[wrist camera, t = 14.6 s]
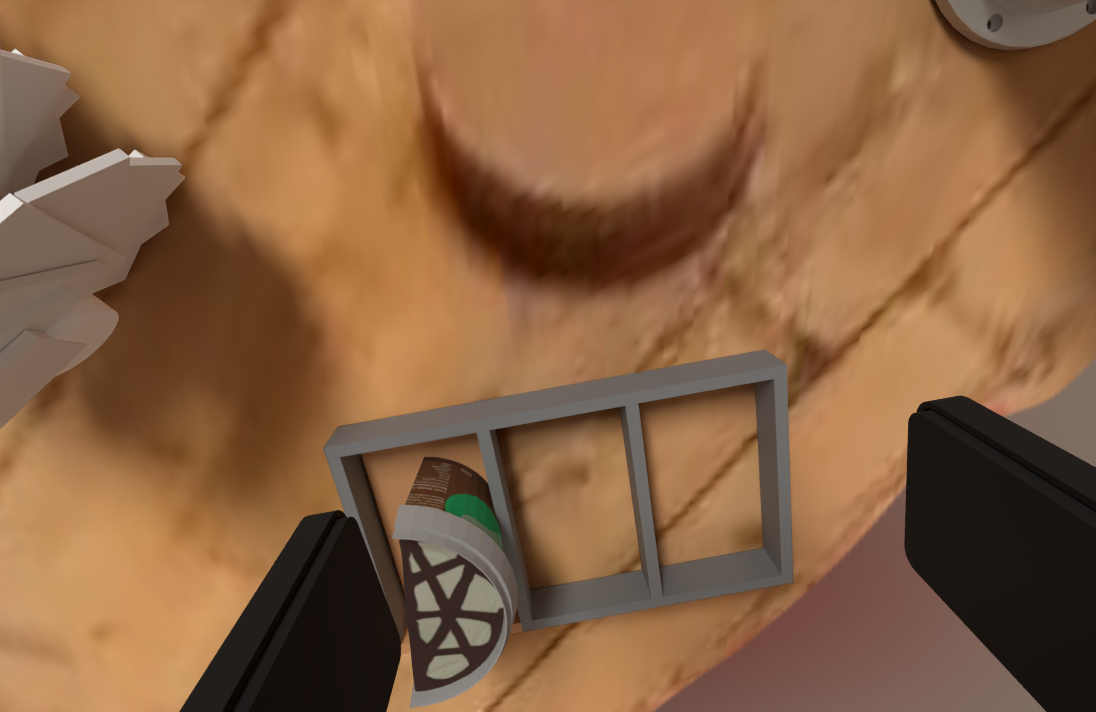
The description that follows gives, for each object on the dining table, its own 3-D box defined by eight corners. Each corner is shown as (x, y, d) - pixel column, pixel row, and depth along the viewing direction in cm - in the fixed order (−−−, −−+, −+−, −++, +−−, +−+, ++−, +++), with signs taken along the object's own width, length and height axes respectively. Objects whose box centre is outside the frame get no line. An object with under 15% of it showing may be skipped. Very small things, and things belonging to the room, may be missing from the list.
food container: (518, 584, 41) (520, 708, 31) (434, 588, 40) (410, 715, 31) (515, 434, 37) (516, 523, 27) (422, 436, 37) (391, 528, 27)
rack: (765, 349, 36) (786, 364, 34) (774, 554, 42) (793, 582, 39) (337, 426, 36) (323, 448, 33) (401, 622, 42) (392, 655, 39)
